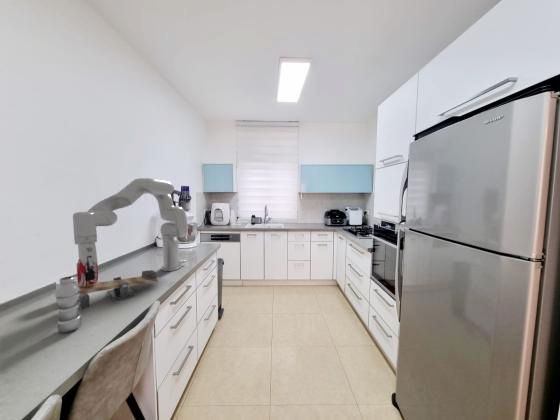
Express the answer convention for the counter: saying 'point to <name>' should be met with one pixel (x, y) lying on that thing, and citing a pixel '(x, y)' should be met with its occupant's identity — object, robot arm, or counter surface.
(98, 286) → the beam
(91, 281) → the soda can
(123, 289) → the beam stand
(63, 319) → the plastic bottle
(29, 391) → the counter surface
